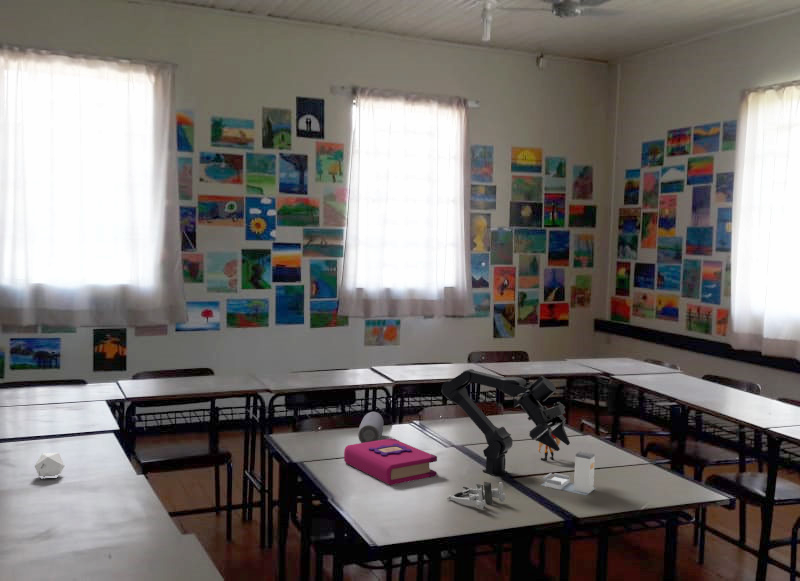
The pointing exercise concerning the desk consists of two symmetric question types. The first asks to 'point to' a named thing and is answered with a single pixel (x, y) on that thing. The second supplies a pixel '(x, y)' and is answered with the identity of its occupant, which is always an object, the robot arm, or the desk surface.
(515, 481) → the desk surface
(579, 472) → the relay module
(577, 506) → the desk surface
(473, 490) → the bike brake
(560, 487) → the din rail board
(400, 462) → the book
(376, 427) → the bluetooth speaker
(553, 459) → the action figure
